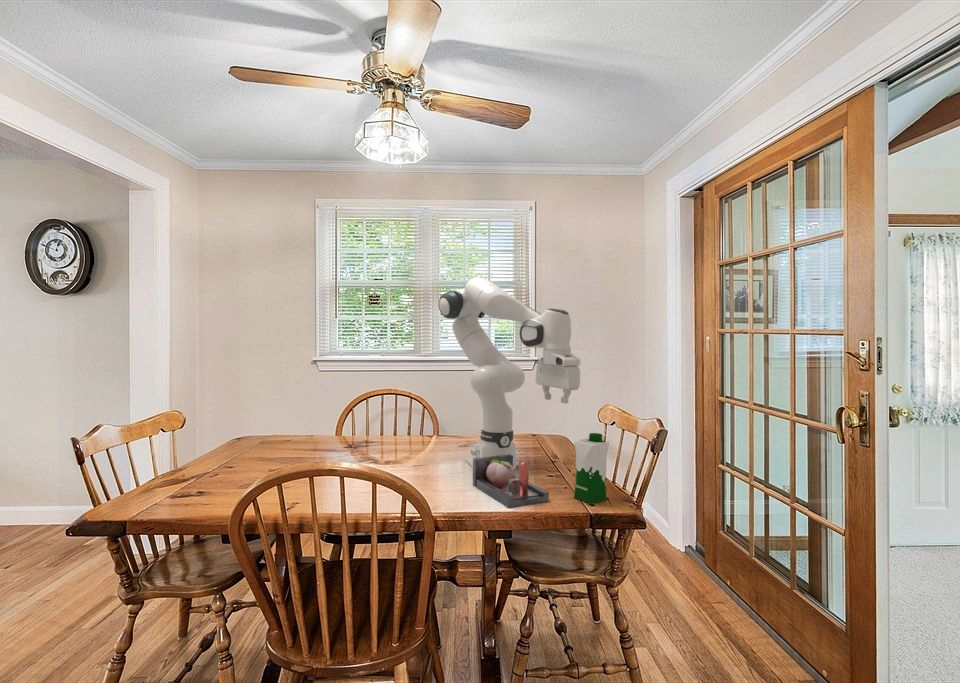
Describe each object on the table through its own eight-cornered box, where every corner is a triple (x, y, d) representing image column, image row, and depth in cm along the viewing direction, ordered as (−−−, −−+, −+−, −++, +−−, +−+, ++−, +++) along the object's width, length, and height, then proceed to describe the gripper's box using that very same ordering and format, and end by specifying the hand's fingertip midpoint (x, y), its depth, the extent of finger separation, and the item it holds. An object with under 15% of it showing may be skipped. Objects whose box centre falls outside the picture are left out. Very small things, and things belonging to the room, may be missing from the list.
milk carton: (610, 500, 160) (612, 435, 159) (591, 506, 154) (592, 439, 154) (588, 493, 167) (590, 431, 166) (569, 498, 161) (570, 434, 161)
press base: (472, 485, 173) (473, 458, 173) (509, 480, 179) (510, 454, 179) (508, 507, 152) (508, 477, 151) (548, 501, 158) (549, 472, 158)
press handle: (501, 498, 160) (502, 460, 159) (528, 494, 164) (529, 457, 164) (511, 504, 154) (512, 465, 154) (539, 500, 158) (540, 462, 158)
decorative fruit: (519, 487, 171) (519, 457, 171) (507, 493, 164) (507, 462, 164) (494, 482, 176) (495, 453, 176) (481, 488, 169) (482, 458, 169)
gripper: (531, 357, 176) (530, 397, 176) (567, 360, 158) (566, 405, 158) (546, 356, 179) (546, 396, 179) (584, 360, 160) (583, 404, 161)
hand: (556, 401), depth 168 cm, fingers open, 8 cm apart
